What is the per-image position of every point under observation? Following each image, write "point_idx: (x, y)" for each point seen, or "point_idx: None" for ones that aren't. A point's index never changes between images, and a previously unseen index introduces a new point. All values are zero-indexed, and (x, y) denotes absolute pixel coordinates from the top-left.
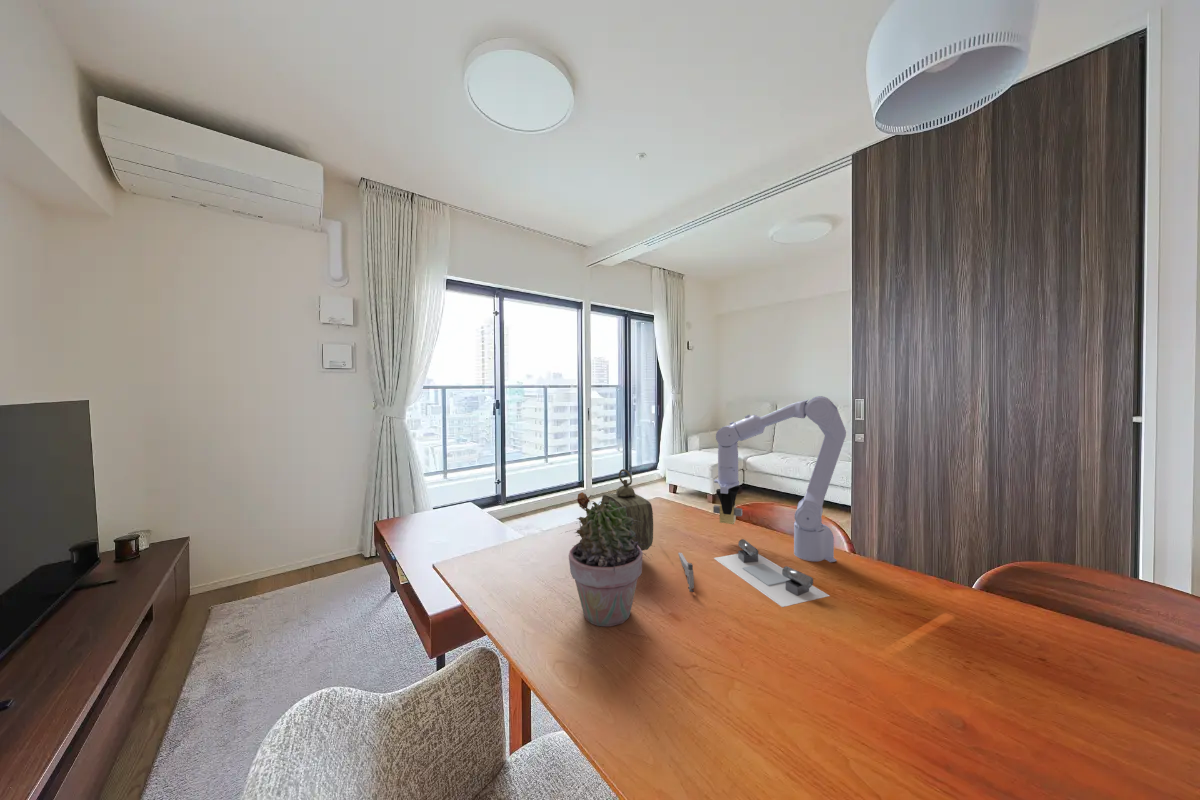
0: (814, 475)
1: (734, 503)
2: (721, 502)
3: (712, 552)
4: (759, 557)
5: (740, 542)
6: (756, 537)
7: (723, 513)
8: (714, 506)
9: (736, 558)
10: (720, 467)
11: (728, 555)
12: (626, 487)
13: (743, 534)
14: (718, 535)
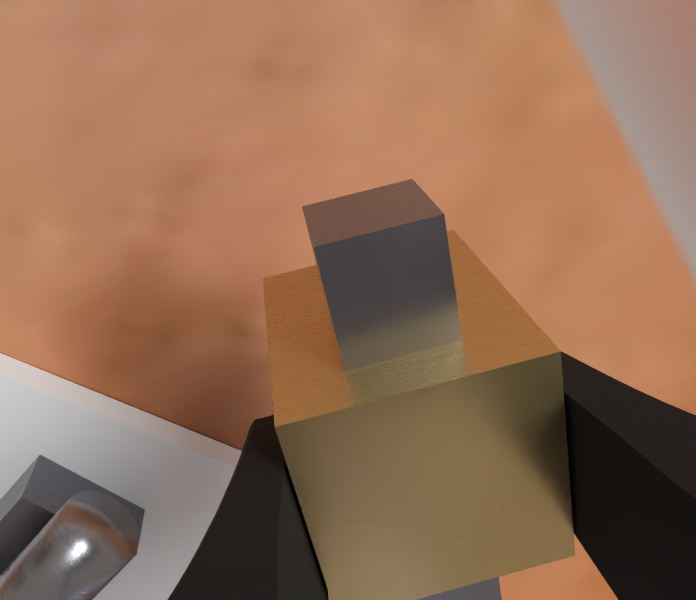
0: None
1: (579, 536)
2: (189, 582)
3: (47, 204)
4: (172, 542)
5: (48, 545)
6: (608, 351)
7: (254, 422)
8: (349, 255)
9: (17, 449)
10: None
11: (17, 385)
12: None
13: (631, 248)
14: (496, 64)
